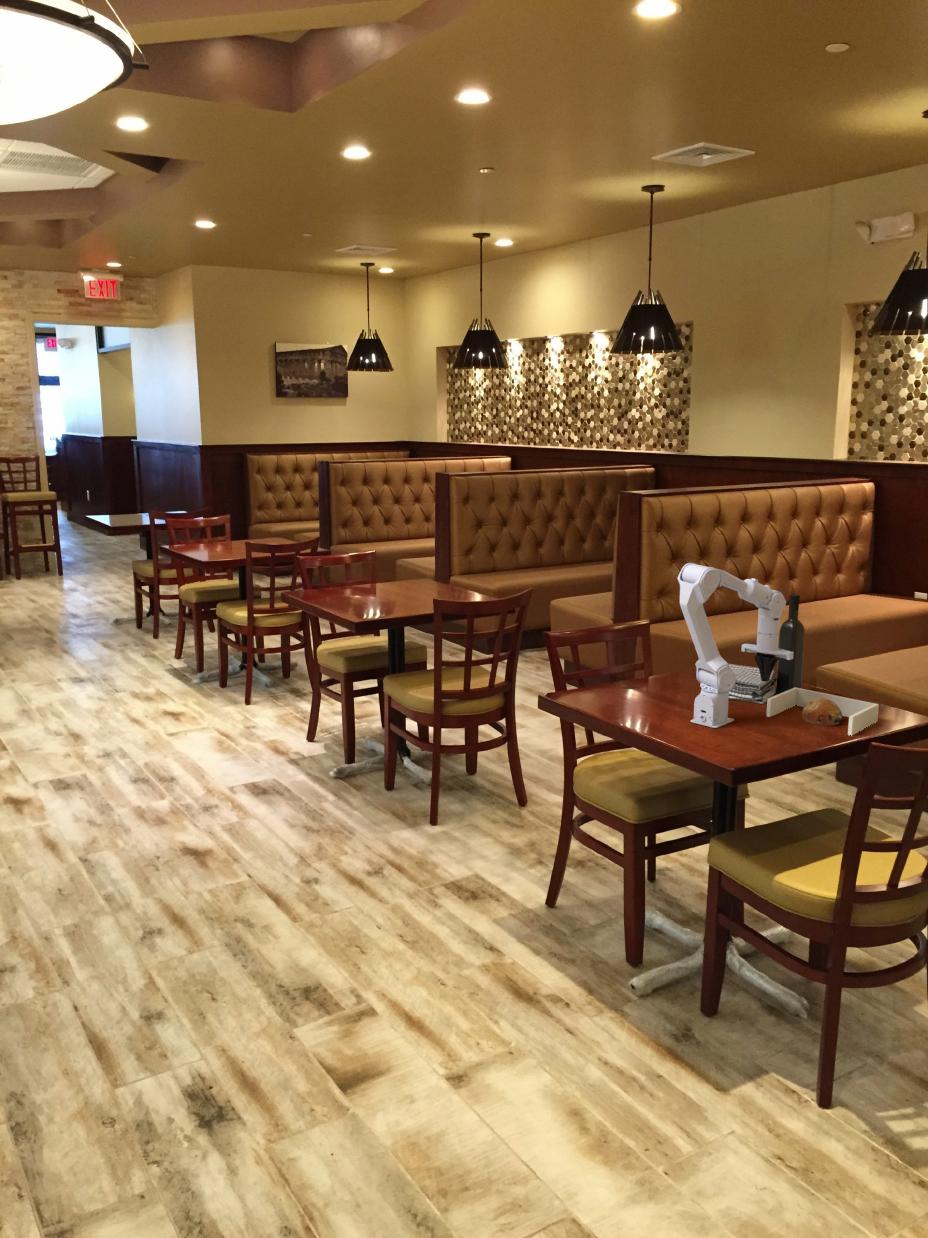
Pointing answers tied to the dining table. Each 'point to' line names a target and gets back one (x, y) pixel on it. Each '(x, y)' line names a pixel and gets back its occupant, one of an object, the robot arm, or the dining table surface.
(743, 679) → the towel
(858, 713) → the box
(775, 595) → the robot arm
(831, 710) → the bread roll
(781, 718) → the dining table surface
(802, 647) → the wine bottle
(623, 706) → the dining table surface
